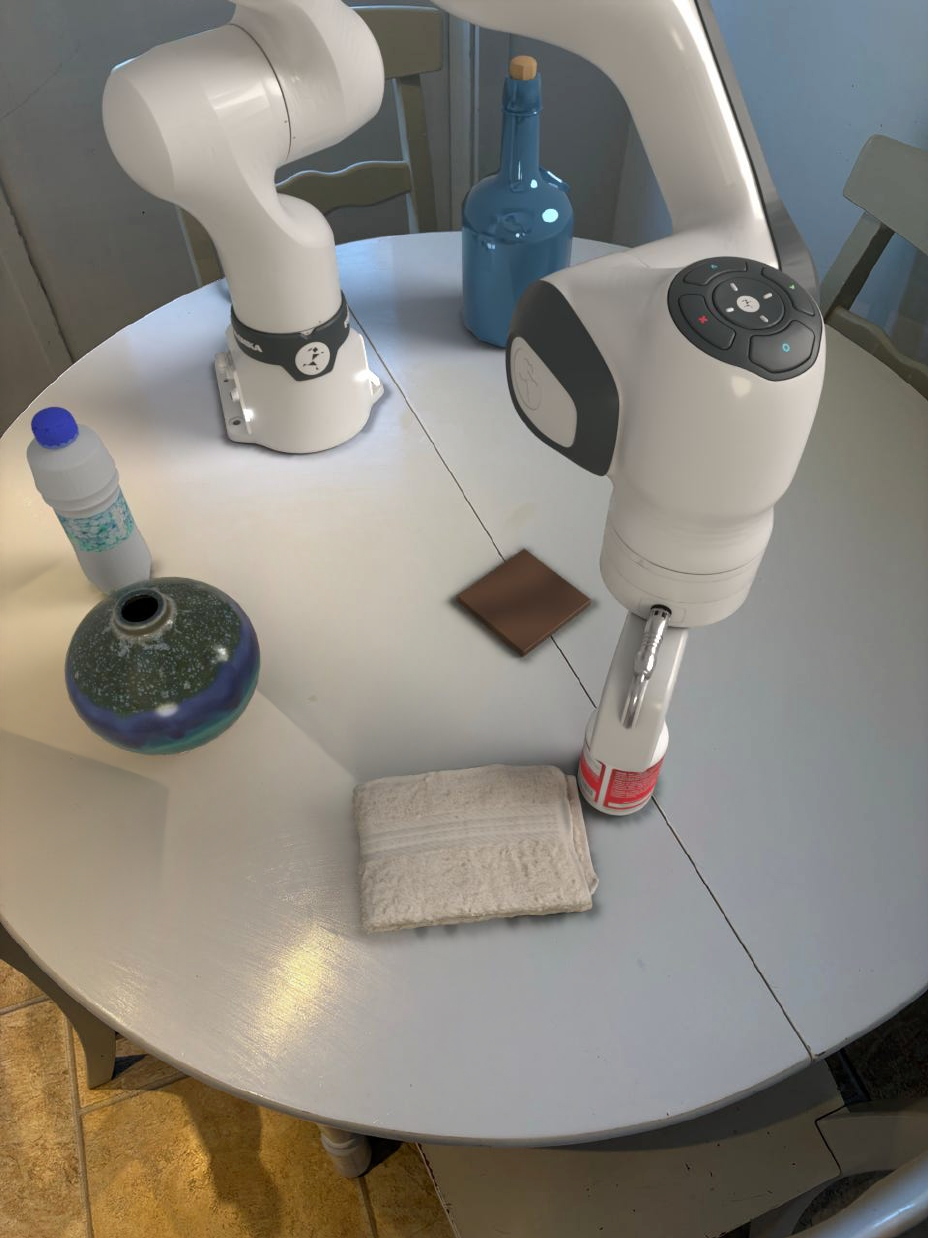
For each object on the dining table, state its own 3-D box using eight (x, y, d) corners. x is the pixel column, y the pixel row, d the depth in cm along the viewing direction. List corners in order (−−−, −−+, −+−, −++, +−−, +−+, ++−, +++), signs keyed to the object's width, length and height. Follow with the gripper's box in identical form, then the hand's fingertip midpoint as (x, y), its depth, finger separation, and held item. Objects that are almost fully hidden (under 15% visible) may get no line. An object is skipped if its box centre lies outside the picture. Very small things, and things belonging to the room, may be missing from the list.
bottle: (172, 561, 88) (106, 397, 72) (135, 610, 84) (58, 449, 69) (113, 545, 90) (37, 380, 74) (75, 593, 86) (-15, 430, 70)
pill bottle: (665, 774, 73) (691, 700, 64) (631, 832, 70) (653, 763, 61) (598, 738, 75) (615, 662, 67) (562, 792, 72) (575, 721, 63)
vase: (57, 712, 77) (-8, 617, 67) (196, 606, 84) (157, 506, 74) (168, 817, 71) (116, 730, 61) (308, 693, 78) (283, 597, 68)
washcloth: (602, 913, 66) (607, 898, 64) (360, 943, 65) (356, 928, 62) (571, 772, 73) (574, 753, 71) (353, 796, 72) (349, 778, 70)
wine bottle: (517, 365, 107) (530, 98, 84) (439, 322, 113) (430, 60, 90) (588, 318, 113) (618, 56, 90) (510, 279, 119) (520, 23, 96)
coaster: (456, 600, 85) (456, 595, 84) (523, 553, 88) (524, 548, 88) (523, 657, 81) (523, 652, 80) (590, 605, 84) (591, 599, 84)
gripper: (698, 711, 44) (652, 830, 55) (762, 452, 56) (714, 592, 67) (576, 674, 46) (555, 797, 57) (664, 429, 57) (632, 570, 68)
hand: (642, 684), depth 62 cm, fingers open, 8 cm apart
